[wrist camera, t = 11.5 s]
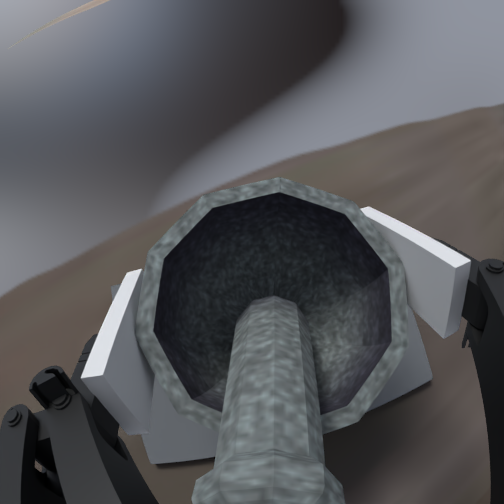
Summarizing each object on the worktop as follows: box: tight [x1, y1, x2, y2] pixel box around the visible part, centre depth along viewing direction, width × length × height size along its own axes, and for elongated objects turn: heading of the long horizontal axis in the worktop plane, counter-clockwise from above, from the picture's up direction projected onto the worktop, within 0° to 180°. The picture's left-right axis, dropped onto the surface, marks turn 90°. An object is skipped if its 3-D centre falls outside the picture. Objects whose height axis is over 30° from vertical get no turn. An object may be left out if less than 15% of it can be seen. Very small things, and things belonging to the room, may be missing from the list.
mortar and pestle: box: [135, 177, 409, 504], centre depth 10 cm, size 11×9×12 cm
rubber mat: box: [111, 284, 433, 464], centre depth 18 cm, size 20×13×1 cm, turn 106°
